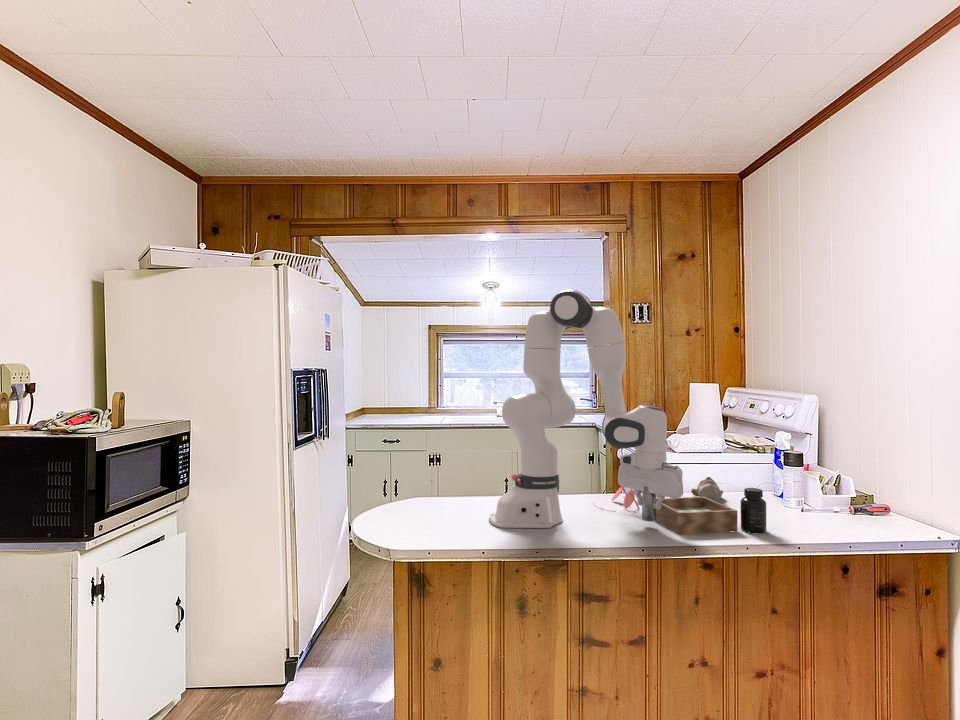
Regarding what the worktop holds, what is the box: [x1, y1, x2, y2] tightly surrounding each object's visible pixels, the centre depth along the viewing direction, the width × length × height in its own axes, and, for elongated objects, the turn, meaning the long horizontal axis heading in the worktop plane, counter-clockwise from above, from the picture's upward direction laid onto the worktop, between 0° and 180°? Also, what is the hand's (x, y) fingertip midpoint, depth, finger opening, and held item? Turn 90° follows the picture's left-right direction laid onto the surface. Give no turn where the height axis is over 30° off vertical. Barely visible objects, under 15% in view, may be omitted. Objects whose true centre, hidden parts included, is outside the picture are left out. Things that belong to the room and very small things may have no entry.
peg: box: [641, 486, 657, 522], centre depth 178 cm, size 4×4×10 cm
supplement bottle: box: [740, 487, 767, 534], centre depth 175 cm, size 7×7×12 cm
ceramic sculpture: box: [690, 476, 724, 503], centre depth 212 cm, size 11×9×15 cm
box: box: [655, 496, 738, 535], centre depth 181 cm, size 18×18×6 cm
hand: (648, 507), depth 178 cm, fingers closed on peg, 4 cm apart
